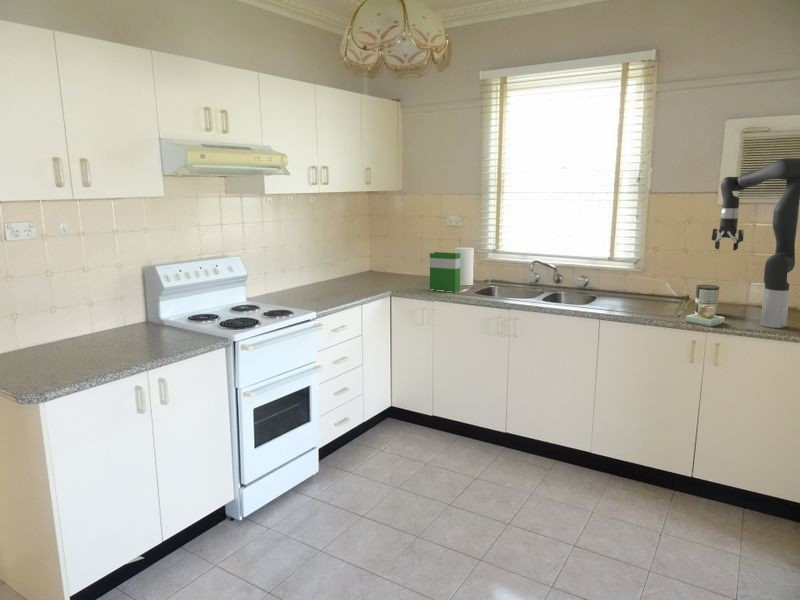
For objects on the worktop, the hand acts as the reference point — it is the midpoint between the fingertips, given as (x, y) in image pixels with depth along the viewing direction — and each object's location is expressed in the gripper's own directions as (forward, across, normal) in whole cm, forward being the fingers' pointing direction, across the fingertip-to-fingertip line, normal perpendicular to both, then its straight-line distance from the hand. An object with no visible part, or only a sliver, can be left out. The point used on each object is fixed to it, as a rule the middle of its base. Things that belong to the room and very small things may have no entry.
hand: (725, 249), depth 282 cm
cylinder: (+32, +141, +54) cm, 154 cm away
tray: (+32, -9, +31) cm, 46 cm away
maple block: (+31, -9, +31) cm, 45 cm away
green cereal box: (+32, +131, +78) cm, 156 cm away
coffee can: (+32, +2, +10) cm, 34 cm away
